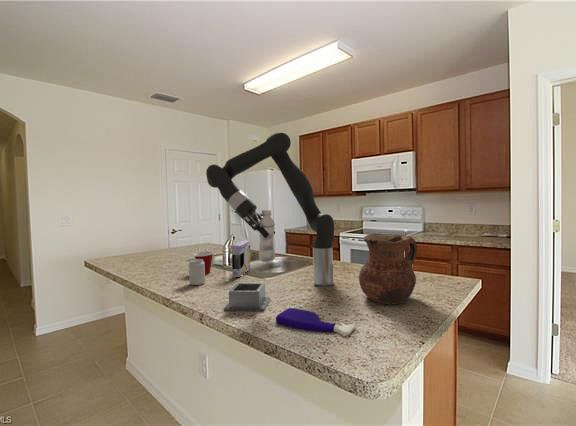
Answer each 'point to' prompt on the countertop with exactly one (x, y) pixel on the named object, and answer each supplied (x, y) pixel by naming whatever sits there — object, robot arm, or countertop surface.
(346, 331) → the spray bottle
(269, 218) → the plastic bottle
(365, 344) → the countertop surface
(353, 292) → the countertop surface
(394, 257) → the jug
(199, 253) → the plastic cup
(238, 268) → the cake pan box
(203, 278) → the can
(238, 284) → the rack socket
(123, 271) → the countertop surface
